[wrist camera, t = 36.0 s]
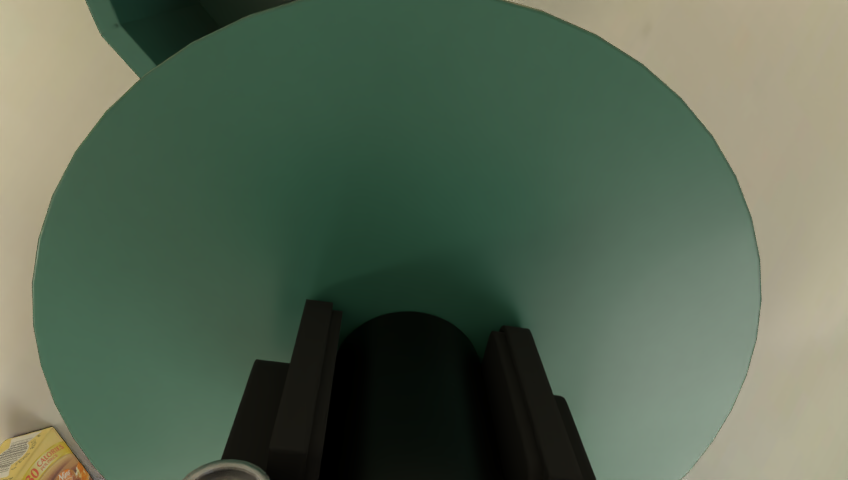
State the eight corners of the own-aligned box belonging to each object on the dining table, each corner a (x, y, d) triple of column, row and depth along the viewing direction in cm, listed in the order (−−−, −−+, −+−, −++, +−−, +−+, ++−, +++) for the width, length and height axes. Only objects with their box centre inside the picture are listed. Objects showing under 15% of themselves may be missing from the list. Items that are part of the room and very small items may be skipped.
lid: (80, 534, 16) (-113, 895, 10) (27, -99, 9) (-596, -182, 4) (612, 579, 17) (726, 907, 11) (859, 68, 11) (1386, 202, 5)
